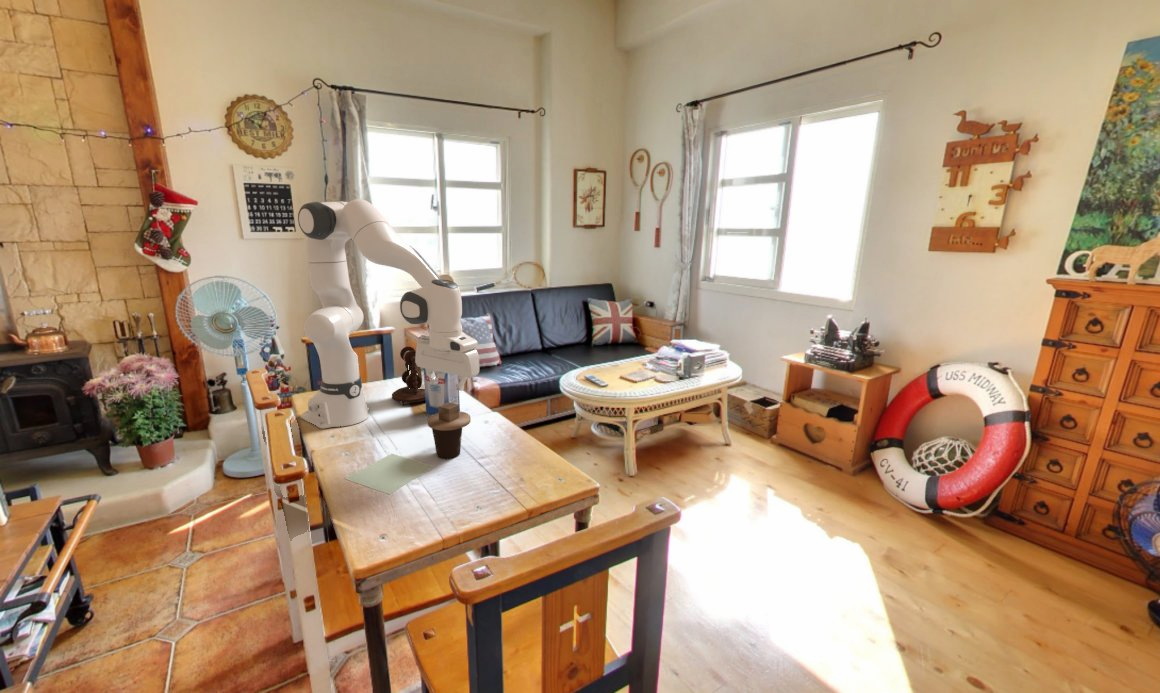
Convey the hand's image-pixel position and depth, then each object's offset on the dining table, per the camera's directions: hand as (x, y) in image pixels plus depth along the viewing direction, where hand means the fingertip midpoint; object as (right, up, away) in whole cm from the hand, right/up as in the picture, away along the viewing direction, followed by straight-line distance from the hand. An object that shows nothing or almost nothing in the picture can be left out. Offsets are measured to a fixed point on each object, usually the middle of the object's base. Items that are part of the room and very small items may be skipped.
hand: (447, 386), depth 137 cm
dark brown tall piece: (-26, -9, +47) cm, 55 cm away
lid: (0, -10, +3) cm, 11 cm away
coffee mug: (0, -20, +5) cm, 21 cm away
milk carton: (-11, -12, +35) cm, 39 cm away
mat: (-13, -23, -7) cm, 27 cm away
